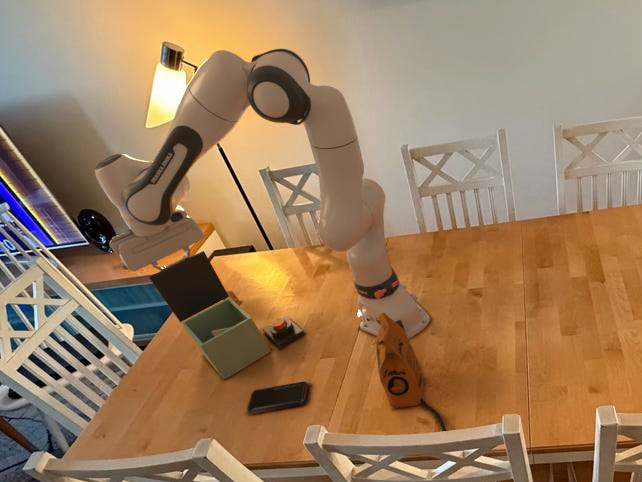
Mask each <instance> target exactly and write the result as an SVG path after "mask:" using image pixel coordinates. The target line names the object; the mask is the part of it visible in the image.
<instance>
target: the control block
mask: <svg viewBox="0 0 642 482" xmlns="http://www.w3.org/2000/svg"><path fill="white" fill-rule="evenodd" d="M282 319H284V320H285V322H286V324H287V325H286V327H285V328H283V329H282V330H275V328H274V327H273V323H271V324H270V325H269V326H267V327H264V328H263V329H262V331H263V333H264V334H265V335H266V336H267V337H268V338H269V339H270V340H271V341H272V342H273V343H274V344H275V345H276V346H278V347H279V349H280V350H283V349H284V348H285V347H287V346H288V345H291V344H292V343H294V342H295V341H297V340H299V339H300V338H302V337H303V336H305V333H304V330H303V329H301V328H300V327H299V326H298V325H297V324H295V323H294V322H293V321H292V320H291V319H290V318H288V317H287V316H284V317H282Z"/></svg>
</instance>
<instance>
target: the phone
mask: <svg viewBox="0 0 642 482" xmlns="http://www.w3.org/2000/svg"><path fill="white" fill-rule="evenodd" d="M308 391H309V384H308V383H307V381H299V382H298V381H297V382H292V383H287V384H281V385H275V386H274V385H273V386H269V387H263V388H258V389H255V390H253V391H252V393H251V395H250V398H249V402H248V404H247V408H246V410H247V412H249V414H250V415H254V414H259V413H265V412H273V411H278V410H282V409H289V408H294V407H300V406H303V405H305V403H306V401H307V397H308V396H307V395H308Z"/></svg>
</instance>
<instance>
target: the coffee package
mask: <svg viewBox="0 0 642 482" xmlns="http://www.w3.org/2000/svg"><path fill="white" fill-rule="evenodd" d="M378 318H379V321H380V323H381V327H380V329H379V332H378V335H377V336H376V337H375V341H376V343H375V344H376V346H375V348H376V362H377V371H378V377H379V379H380V380H379V381H380V383H381V385H382V388H383V390H384V392H385V395H386V397H387V400H388V403H389V406H390V407H391V408H393V409H399V408H406V407H415V406H418V405H420V404H422V403H421V402H420V400H421V398H423V390H424V387H425V382H424V378H423V375H422V372H421V369H420V366H419V362H418V360H417V357H416V353H415V351H414V349H413V346H412V344H411V342H410V338H409V339H408V337H407V335H406V333H405V331H404V330H403V328H402V327H401V326H400V325H399V324H397V323H396V322H394V320H392V319H391V318H390V317H389V316H387V315H386V314H385V313H381V314H380V315H379V317H378Z"/></svg>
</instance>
